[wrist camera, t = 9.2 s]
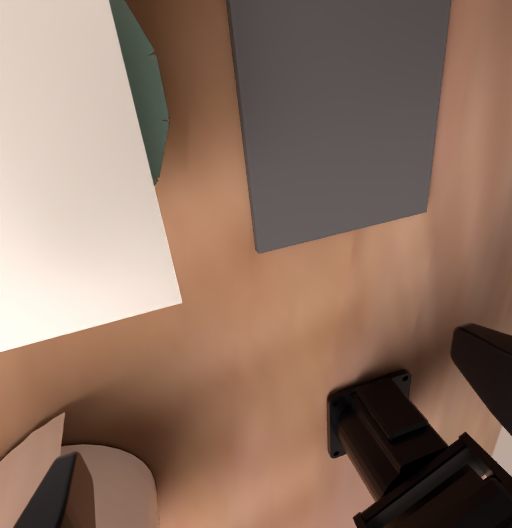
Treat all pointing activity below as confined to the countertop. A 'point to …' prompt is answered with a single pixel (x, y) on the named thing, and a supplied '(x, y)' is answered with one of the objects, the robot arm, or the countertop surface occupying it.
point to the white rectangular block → (73, 178)
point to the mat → (336, 111)
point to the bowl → (143, 84)
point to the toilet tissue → (101, 469)
